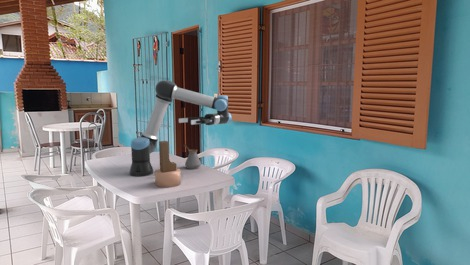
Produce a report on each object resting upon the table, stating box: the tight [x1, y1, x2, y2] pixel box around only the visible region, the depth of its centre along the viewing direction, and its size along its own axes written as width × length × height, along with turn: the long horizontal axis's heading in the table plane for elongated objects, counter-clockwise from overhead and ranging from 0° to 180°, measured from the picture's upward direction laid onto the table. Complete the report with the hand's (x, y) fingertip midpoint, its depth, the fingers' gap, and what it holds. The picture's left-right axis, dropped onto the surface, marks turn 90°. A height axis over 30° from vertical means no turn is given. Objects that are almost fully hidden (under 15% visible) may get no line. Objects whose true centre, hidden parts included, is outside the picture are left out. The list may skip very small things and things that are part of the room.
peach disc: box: [154, 168, 182, 188], centre depth 203 cm, size 15×15×8 cm
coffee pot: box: [183, 144, 202, 170], centre depth 246 cm, size 21×12×15 cm, turn 30°
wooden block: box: [158, 140, 178, 173], centre depth 201 cm, size 9×4×18 cm, turn 123°
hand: (184, 121), depth 213 cm, fingers open, 13 cm apart
